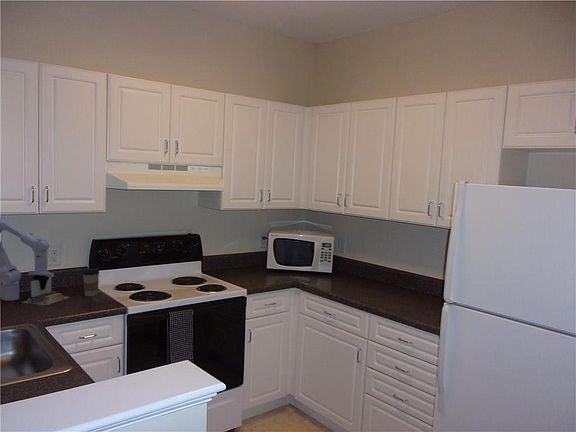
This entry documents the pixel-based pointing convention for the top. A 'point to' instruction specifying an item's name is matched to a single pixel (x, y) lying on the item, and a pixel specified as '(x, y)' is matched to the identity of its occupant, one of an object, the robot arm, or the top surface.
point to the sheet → (37, 290)
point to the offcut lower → (54, 300)
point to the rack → (40, 299)
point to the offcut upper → (53, 296)
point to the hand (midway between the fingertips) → (41, 289)
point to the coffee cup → (91, 281)
